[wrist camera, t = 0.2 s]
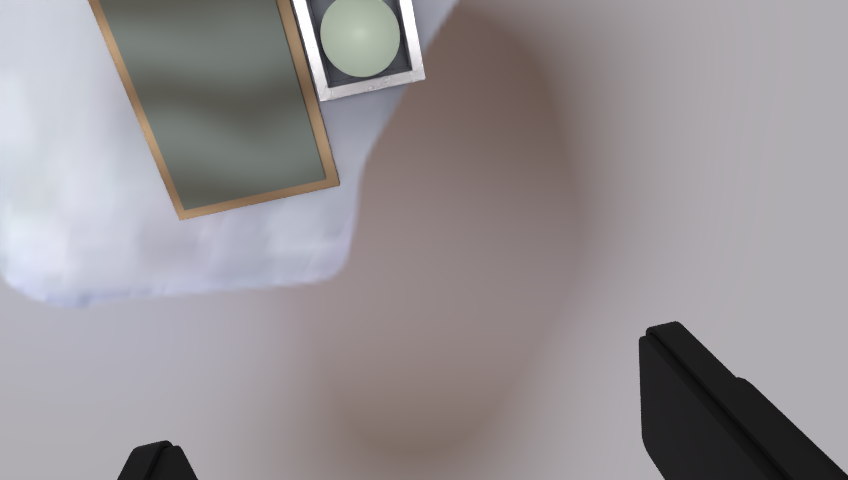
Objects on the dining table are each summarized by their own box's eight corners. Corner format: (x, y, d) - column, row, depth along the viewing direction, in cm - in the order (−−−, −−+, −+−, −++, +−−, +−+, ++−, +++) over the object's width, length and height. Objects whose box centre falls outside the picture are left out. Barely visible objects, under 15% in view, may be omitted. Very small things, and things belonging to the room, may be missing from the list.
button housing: (294, -14, 34) (289, -16, 32) (400, -36, 35) (403, -40, 32) (323, 94, 37) (320, 101, 35) (420, 73, 37) (425, 79, 35)
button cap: (316, 2, 34) (310, 1, 30) (387, -13, 34) (390, -16, 30) (334, 76, 35) (332, 84, 32) (402, 61, 36) (407, 68, 32)
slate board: (85, -17, 33) (77, -17, 32) (275, -56, 33) (272, -58, 32) (182, 217, 40) (177, 222, 39) (339, 182, 40) (339, 187, 39)
